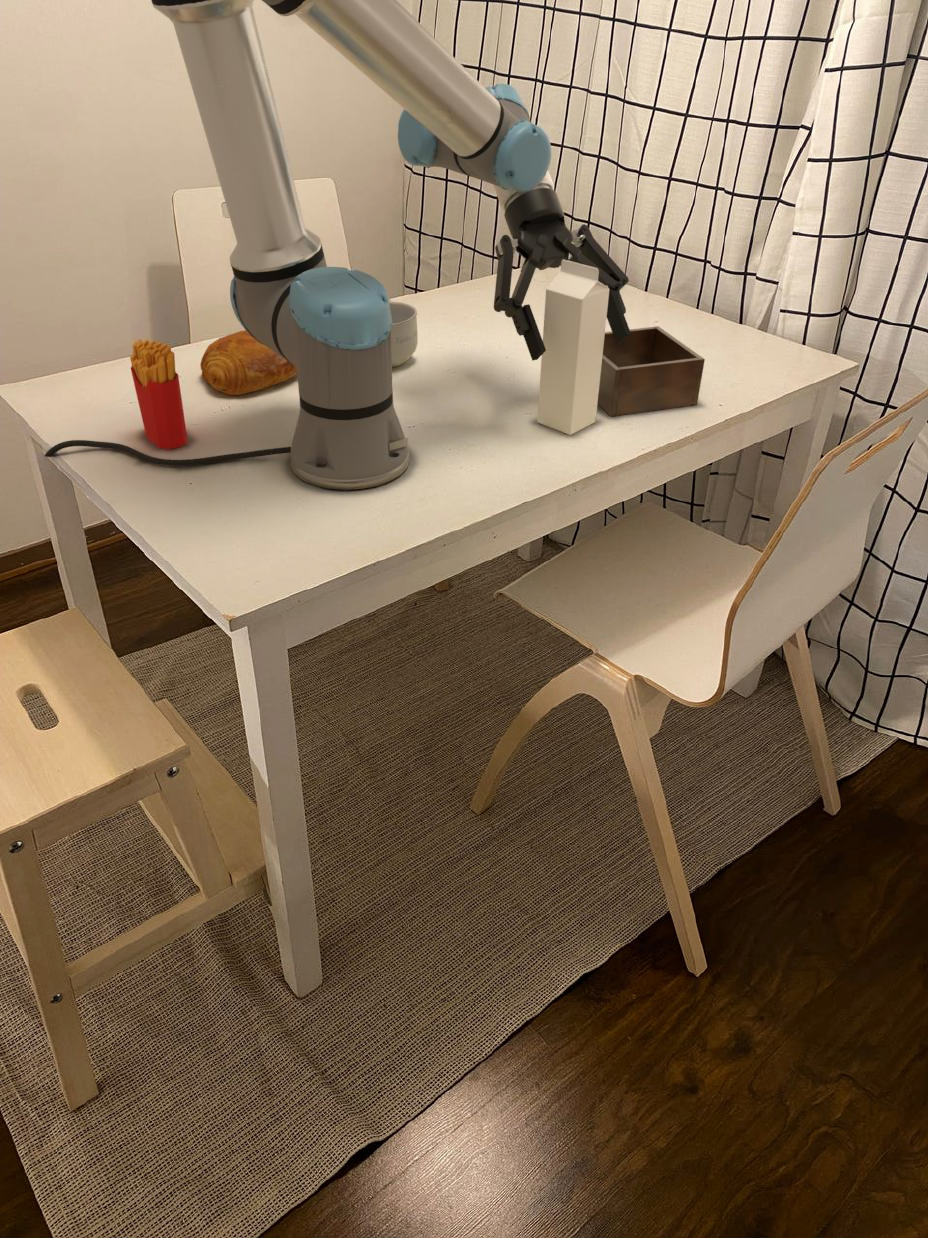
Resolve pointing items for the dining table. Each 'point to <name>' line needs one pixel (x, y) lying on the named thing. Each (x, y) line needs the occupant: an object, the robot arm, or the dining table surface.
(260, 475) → the dining table surface
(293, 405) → the dining table surface
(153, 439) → the french fries
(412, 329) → the teacup
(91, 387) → the dining table surface
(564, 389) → the milk
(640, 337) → the caddy
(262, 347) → the croissant
